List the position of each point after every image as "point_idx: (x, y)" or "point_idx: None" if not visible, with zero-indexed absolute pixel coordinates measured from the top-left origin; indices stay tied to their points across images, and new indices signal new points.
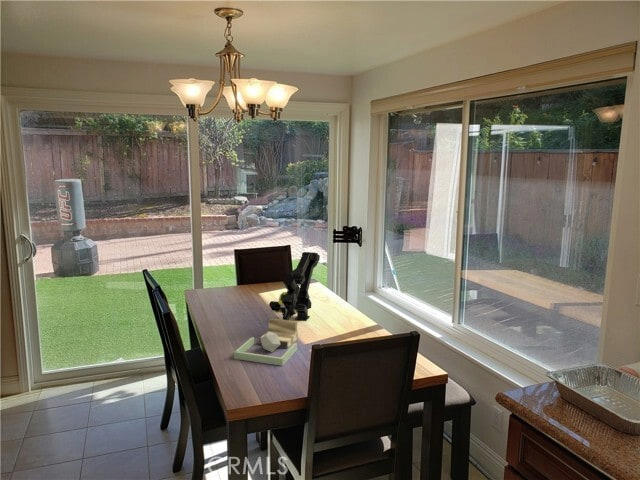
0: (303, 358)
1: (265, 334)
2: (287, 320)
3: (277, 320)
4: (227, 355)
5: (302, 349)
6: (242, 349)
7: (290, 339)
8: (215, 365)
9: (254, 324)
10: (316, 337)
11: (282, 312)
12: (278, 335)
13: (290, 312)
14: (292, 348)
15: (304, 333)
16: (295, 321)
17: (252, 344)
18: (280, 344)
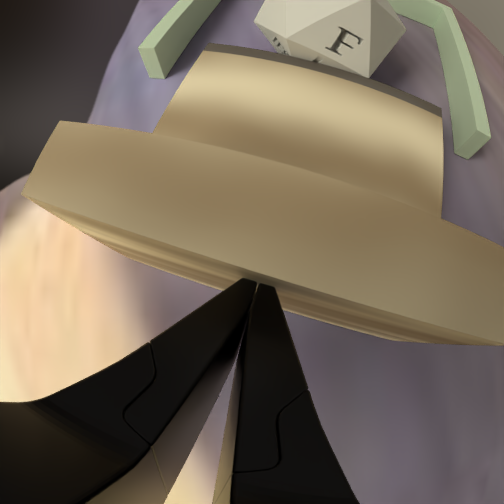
0: (136, 18)
1: (386, 9)
2: (170, 232)
3: (391, 222)
4: (479, 56)
5: (119, 83)
6: (447, 36)
7: (179, 91)
8: (460, 12)
9: (490, 499)
10: (9, 283)
11: (335, 483)
12: (302, 151)
13: (29, 412)
14: (177, 5)
15: (78, 377)
16: (42, 195)
17: (454, 129)
18: (254, 21)
